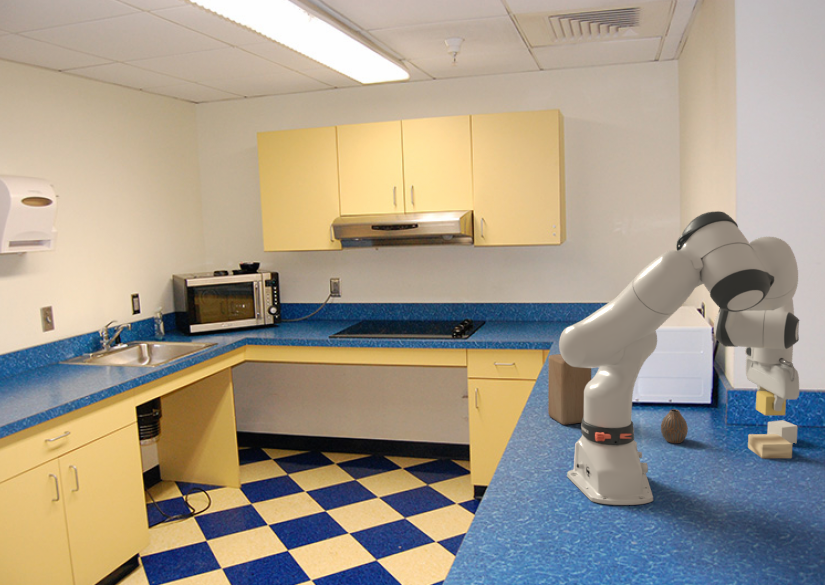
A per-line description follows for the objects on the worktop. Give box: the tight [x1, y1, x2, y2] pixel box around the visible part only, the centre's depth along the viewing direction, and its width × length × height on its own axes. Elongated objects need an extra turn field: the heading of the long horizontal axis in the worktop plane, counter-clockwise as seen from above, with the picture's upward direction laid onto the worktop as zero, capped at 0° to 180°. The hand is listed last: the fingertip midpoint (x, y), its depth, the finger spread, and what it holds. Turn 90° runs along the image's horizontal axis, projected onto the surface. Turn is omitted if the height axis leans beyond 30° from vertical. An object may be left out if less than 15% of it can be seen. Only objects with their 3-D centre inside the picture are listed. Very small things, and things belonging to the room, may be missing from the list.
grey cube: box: [766, 419, 798, 445], centre depth 176 cm, size 5×5×5 cm
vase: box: [660, 408, 689, 444], centre depth 178 cm, size 7×7×9 cm
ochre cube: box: [755, 390, 787, 416], centre depth 167 cm, size 5×5×5 cm
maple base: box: [747, 433, 793, 459], centre depth 168 cm, size 8×8×4 cm
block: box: [547, 353, 592, 426], centre depth 197 cm, size 10×10×20 cm
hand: (770, 406), depth 167 cm, fingers closed on ochre cube, 5 cm apart
